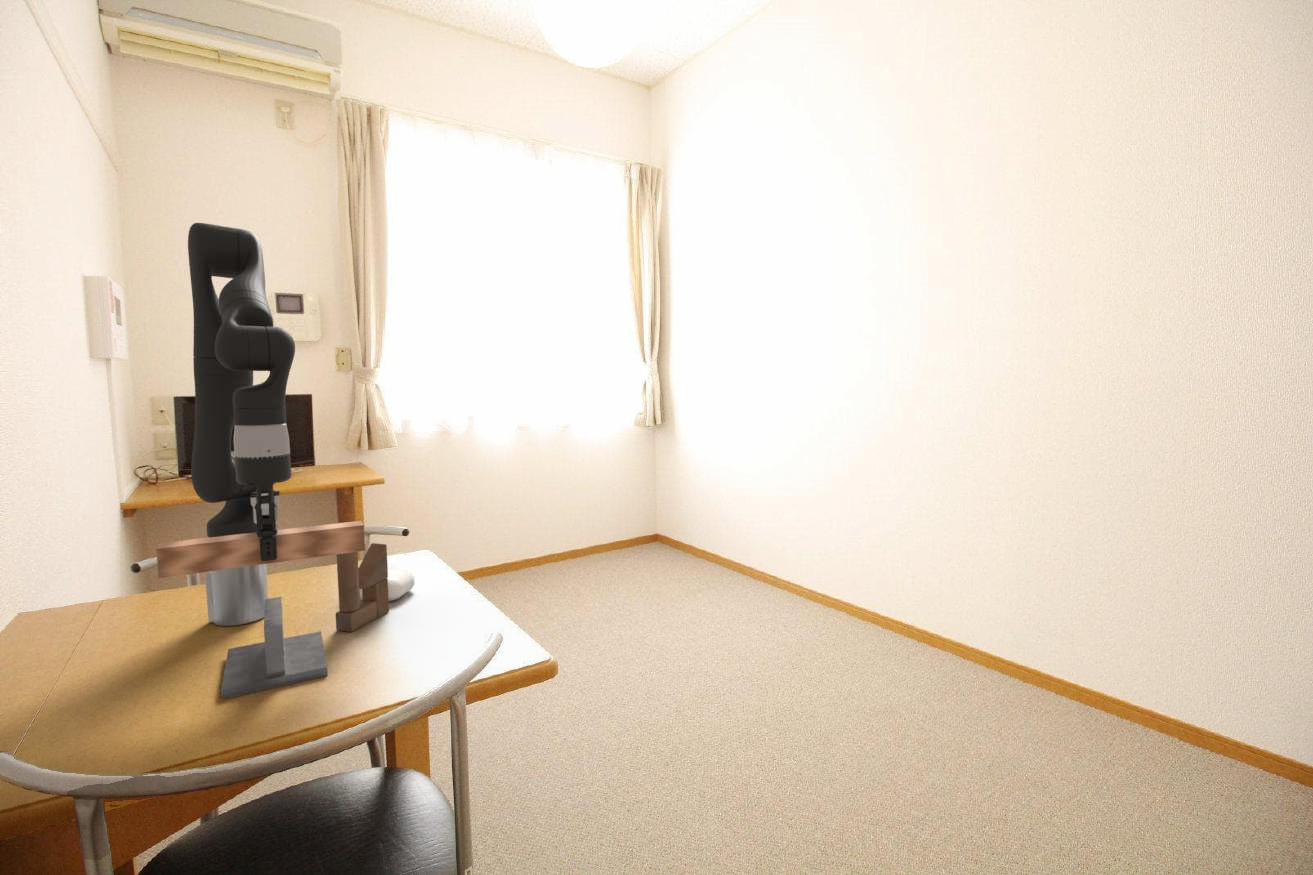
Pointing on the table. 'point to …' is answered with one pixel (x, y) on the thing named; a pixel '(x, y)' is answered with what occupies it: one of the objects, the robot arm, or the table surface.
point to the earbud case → (397, 583)
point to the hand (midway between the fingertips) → (269, 556)
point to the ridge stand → (273, 658)
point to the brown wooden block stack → (362, 587)
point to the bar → (257, 548)
